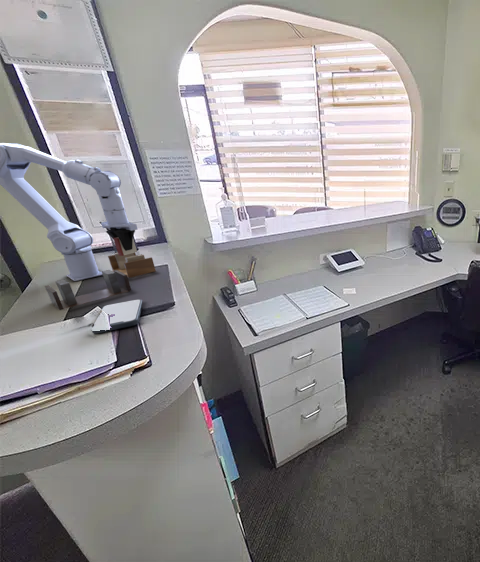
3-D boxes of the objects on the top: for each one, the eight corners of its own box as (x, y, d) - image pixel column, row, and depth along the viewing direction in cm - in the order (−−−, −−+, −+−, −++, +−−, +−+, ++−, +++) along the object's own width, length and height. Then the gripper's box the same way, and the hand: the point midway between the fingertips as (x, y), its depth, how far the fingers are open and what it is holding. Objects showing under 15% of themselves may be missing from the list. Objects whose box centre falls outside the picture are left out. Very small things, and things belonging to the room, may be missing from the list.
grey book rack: (61, 313, 81) (50, 288, 78) (53, 306, 85) (43, 282, 82) (132, 293, 93) (125, 271, 90) (122, 287, 97) (115, 266, 95)
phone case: (104, 310, 82) (91, 336, 70) (102, 305, 82) (88, 329, 69) (144, 303, 87) (139, 325, 74) (142, 298, 86) (137, 319, 73)
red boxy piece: (118, 255, 106) (113, 238, 104) (133, 251, 110) (128, 235, 108) (122, 255, 105) (116, 238, 103) (137, 252, 110) (132, 235, 108)
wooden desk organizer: (112, 271, 112) (106, 253, 110) (138, 266, 118) (133, 248, 116) (130, 280, 103) (123, 260, 101) (156, 273, 110) (151, 254, 107)
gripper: (86, 210, 101) (99, 250, 106) (116, 212, 96) (128, 254, 101) (109, 207, 107) (121, 245, 112) (138, 209, 103) (149, 249, 107)
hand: (126, 249), depth 107 cm, fingers closed on red boxy piece, 2 cm apart
